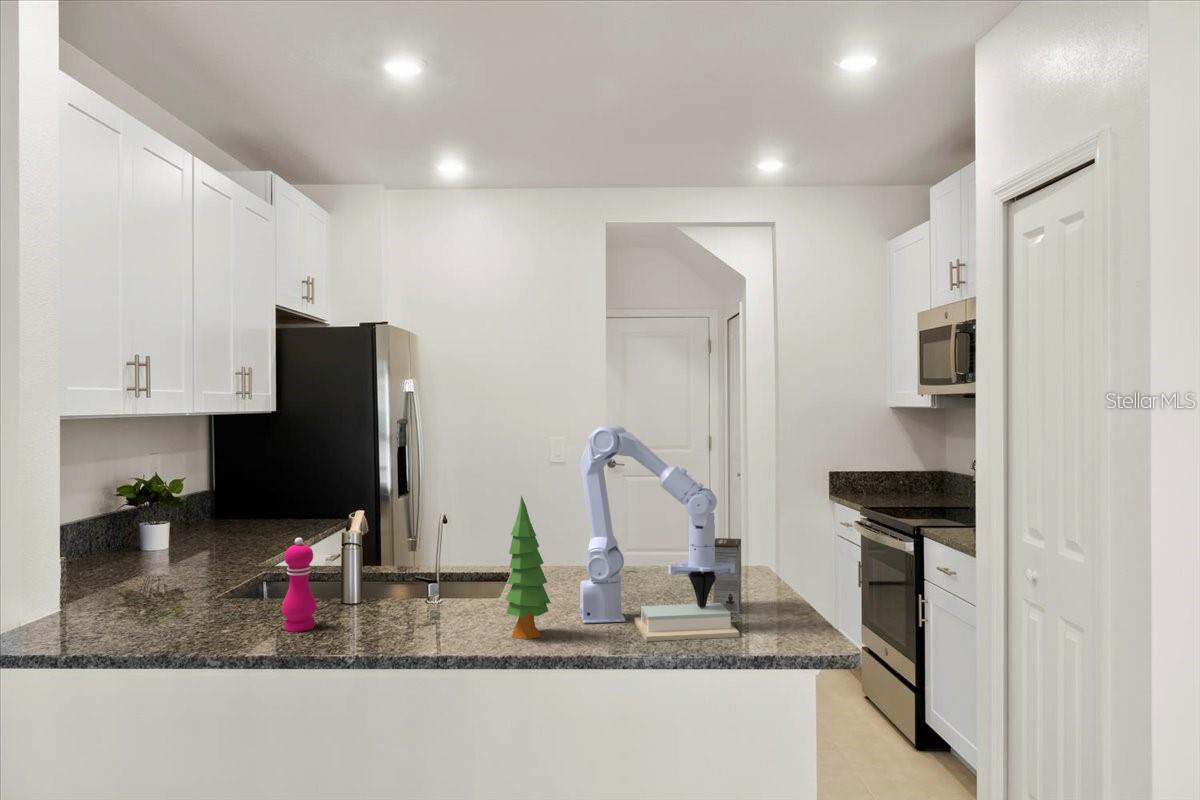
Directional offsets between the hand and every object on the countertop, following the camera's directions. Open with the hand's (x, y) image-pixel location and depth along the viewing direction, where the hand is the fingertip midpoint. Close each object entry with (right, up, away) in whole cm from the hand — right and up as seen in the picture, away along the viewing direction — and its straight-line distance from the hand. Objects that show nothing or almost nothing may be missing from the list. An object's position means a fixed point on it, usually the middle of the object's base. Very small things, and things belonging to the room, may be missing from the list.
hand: (701, 606), depth 179 cm
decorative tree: (-38, -5, -5) cm, 38 cm away
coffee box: (+8, -5, +15) cm, 18 cm away
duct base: (-4, -5, -2) cm, 6 cm away
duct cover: (-4, -1, -1) cm, 4 cm away
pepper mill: (-89, -5, +1) cm, 89 cm away
